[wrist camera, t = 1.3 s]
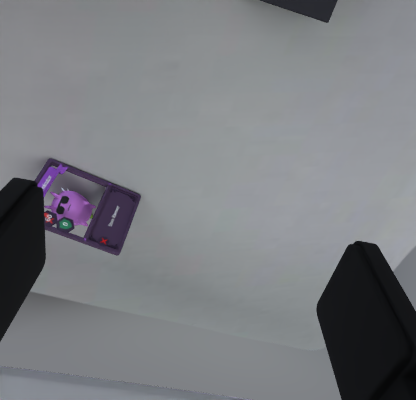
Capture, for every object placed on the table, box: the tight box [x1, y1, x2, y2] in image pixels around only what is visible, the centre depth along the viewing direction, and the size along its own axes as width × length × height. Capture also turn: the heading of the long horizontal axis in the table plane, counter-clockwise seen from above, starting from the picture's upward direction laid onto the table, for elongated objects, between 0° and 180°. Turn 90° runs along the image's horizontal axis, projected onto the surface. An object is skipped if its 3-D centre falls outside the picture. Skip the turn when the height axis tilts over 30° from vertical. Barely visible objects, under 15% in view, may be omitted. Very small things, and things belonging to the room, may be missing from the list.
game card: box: [35, 159, 141, 255], centre depth 34 cm, size 7×5×9 cm
